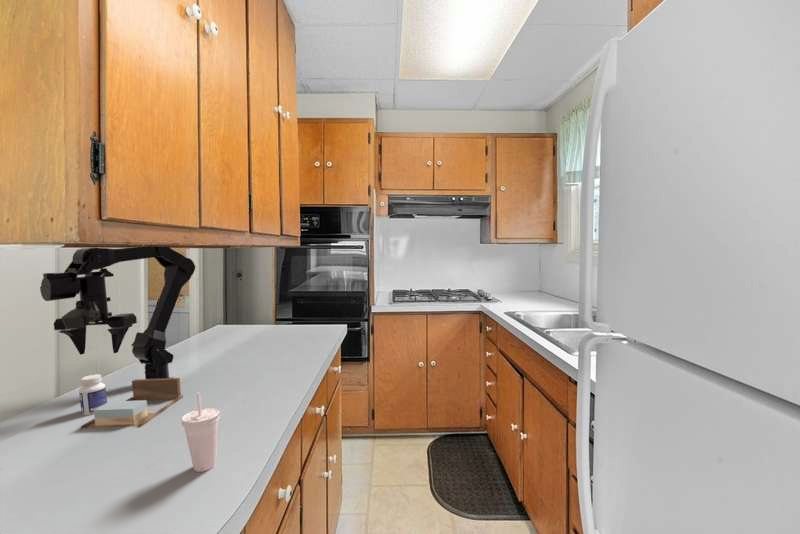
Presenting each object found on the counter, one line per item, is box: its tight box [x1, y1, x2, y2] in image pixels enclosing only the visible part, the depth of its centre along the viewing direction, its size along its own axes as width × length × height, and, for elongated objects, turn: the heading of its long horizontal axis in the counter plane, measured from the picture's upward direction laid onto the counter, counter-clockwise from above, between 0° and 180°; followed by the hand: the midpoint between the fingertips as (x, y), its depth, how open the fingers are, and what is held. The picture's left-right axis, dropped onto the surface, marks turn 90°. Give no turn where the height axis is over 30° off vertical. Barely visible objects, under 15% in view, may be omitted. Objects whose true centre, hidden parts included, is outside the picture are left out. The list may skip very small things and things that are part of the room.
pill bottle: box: [78, 373, 108, 416], centre depth 105 cm, size 5×5×9 cm
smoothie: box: [181, 391, 221, 473], centre depth 77 cm, size 6×6×14 cm
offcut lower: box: [94, 407, 149, 426], centre depth 98 cm, size 5×9×2 cm, turn 88°
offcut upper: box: [93, 399, 148, 418], centre depth 98 cm, size 5×9×2 cm, turn 88°
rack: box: [80, 377, 184, 430], centre depth 103 cm, size 18×14×6 cm
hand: (99, 353), depth 113 cm, fingers open, 9 cm apart
